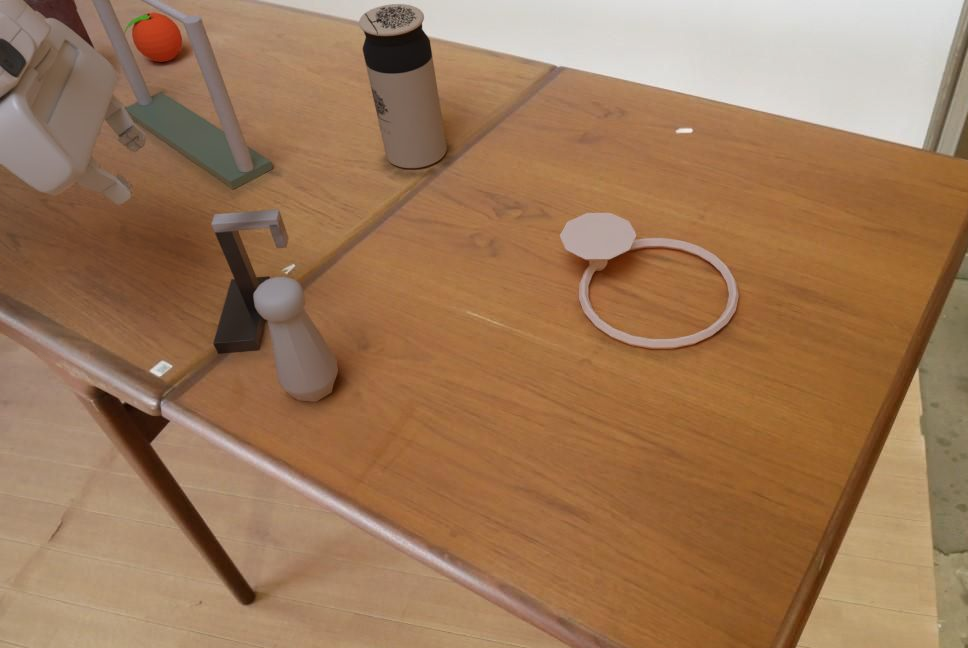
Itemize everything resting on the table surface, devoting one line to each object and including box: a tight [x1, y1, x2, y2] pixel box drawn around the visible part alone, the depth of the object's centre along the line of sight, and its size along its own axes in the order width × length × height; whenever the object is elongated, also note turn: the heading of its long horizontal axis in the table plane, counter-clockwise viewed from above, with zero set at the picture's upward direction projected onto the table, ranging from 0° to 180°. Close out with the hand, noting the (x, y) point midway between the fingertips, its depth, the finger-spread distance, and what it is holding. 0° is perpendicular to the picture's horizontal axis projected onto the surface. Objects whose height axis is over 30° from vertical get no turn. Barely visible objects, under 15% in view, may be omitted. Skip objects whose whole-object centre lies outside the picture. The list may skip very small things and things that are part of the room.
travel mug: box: [358, 3, 448, 169], centre depth 104 cm, size 8×8×18 cm
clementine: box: [123, 12, 183, 63], centre depth 128 cm, size 8×7×7 cm
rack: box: [91, 0, 274, 190], centre depth 107 cm, size 6×28×20 cm, turn 47°
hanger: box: [211, 208, 290, 354], centre depth 85 cm, size 9×10×13 cm
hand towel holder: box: [559, 212, 740, 350], centre depth 89 cm, size 17×4×21 cm
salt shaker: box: [253, 276, 339, 403], centre depth 78 cm, size 6×6×13 cm
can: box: [23, 0, 96, 50], centre depth 122 cm, size 6×6×14 cm
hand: (134, 170), depth 77 cm, fingers open, 8 cm apart
